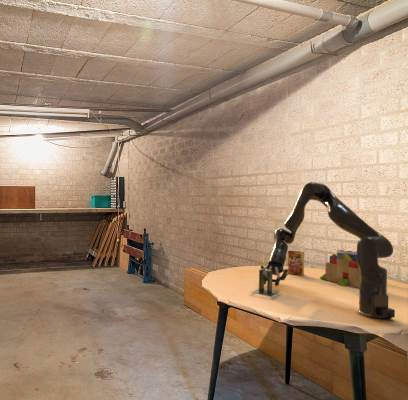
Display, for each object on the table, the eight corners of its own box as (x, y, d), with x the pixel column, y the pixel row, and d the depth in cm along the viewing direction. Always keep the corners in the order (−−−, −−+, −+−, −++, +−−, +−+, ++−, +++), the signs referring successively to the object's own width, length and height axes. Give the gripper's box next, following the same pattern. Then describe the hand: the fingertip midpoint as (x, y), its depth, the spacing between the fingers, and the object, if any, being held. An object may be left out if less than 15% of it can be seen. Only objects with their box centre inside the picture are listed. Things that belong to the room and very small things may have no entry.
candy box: (287, 273, 226) (287, 250, 226) (289, 272, 229) (289, 249, 229) (302, 275, 219) (302, 252, 219) (304, 274, 222) (304, 251, 222)
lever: (266, 282, 183) (267, 277, 183) (276, 283, 179) (277, 279, 180) (259, 273, 175) (260, 269, 176) (269, 275, 171) (270, 270, 172)
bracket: (259, 290, 183) (260, 266, 183) (280, 294, 176) (280, 269, 176) (250, 295, 173) (251, 270, 173) (271, 299, 166) (272, 273, 166)
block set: (315, 279, 210) (316, 247, 210) (331, 277, 215) (332, 246, 215) (363, 291, 184) (364, 255, 184) (381, 288, 189) (381, 253, 189)
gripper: (262, 252, 191) (254, 278, 182) (290, 256, 181) (283, 282, 173) (265, 261, 195) (257, 286, 186) (293, 264, 185) (286, 291, 177)
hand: (270, 284), depth 179 cm, fingers closed on lever, 5 cm apart
